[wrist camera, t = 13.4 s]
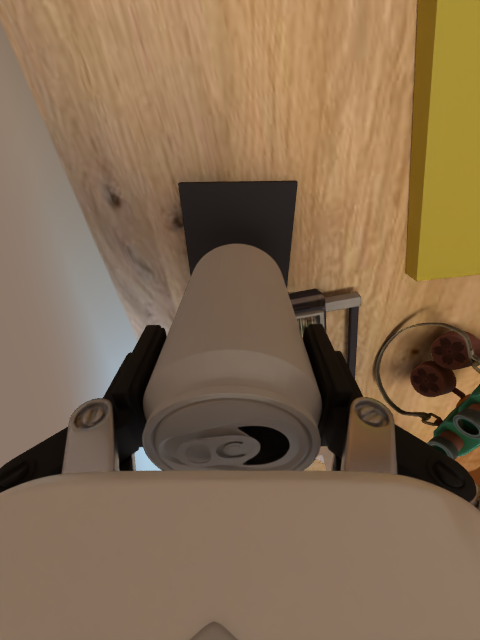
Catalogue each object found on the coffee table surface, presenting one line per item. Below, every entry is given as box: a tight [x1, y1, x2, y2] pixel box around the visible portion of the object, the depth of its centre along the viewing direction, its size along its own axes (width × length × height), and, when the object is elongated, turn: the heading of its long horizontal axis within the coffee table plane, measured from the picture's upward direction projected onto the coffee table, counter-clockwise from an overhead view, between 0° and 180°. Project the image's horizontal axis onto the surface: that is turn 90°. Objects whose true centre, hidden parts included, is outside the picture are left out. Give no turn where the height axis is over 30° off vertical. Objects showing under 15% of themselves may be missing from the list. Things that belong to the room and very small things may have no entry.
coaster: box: [178, 181, 298, 288], centre depth 26 cm, size 11×11×1 cm
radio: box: [288, 289, 361, 379], centre depth 35 cm, size 24×5×20 cm
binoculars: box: [375, 323, 480, 460], centre depth 30 cm, size 14×14×15 cm
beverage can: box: [142, 244, 322, 471], centre depth 13 cm, size 6×6×12 cm
